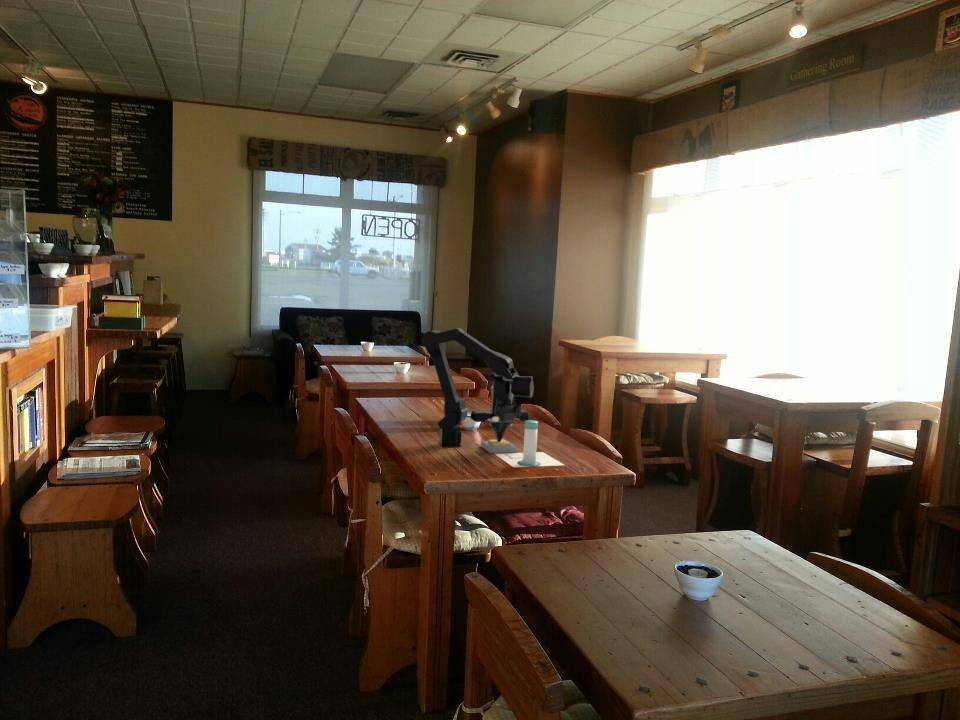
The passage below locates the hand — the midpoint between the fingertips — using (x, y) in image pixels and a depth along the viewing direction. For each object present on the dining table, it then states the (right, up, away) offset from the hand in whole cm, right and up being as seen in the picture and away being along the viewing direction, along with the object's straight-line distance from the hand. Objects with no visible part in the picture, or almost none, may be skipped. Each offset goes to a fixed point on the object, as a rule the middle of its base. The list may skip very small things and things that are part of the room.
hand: (498, 441), depth 252 cm
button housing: (0, -3, 0) cm, 3 cm away
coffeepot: (+2, +1, +42) cm, 42 cm away
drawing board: (+9, -5, -11) cm, 15 cm away
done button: (0, -2, 0) cm, 2 cm away
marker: (+9, -5, -17) cm, 19 cm away
